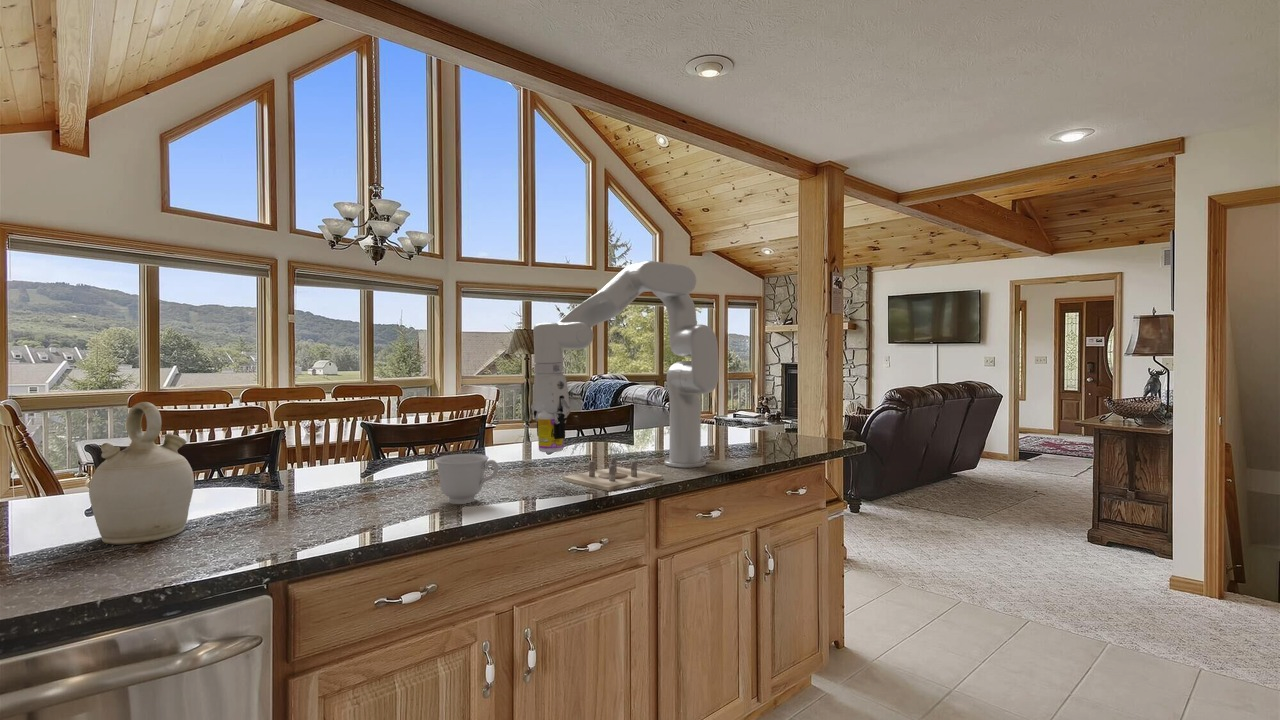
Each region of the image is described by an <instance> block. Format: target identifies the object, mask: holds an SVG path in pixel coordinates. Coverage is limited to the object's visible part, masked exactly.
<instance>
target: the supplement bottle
mask: <svg viewBox="0 0 1280 720" xmlns="http://www.w3.org/2000/svg"><path fill="white" fill-rule="evenodd" d="M542 408H543V409H544V408H545V407H544V405H542ZM558 411H559V410H558ZM559 416H560V415H558V417H559ZM537 422H538V436H537V437H538V439H537V440H538V441H537V442H538V443H537V444H538V450H539V452H541V453H557V452H562V451H564V448H565V443H564V441H565V438H562V439H555V438H554V424H556V423H555V420H554V416H553V413H548V412H545V411H544V410H543V411H542V412H540V413H539V414H538V421H537Z"/></svg>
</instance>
